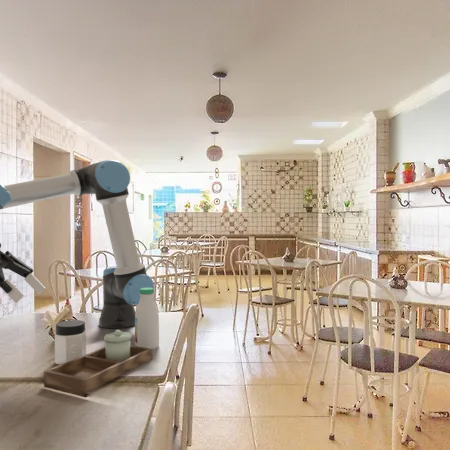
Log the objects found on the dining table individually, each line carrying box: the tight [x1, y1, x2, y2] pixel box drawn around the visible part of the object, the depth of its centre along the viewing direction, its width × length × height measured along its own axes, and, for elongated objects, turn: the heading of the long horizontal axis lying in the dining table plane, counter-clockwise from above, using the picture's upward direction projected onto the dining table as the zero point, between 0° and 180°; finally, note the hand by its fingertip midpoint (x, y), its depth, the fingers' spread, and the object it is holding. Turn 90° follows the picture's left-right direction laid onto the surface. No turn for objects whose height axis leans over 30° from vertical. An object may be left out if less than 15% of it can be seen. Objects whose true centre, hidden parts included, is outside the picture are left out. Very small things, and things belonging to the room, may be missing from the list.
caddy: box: [43, 344, 153, 398], centre depth 117 cm, size 27×14×4 cm, turn 154°
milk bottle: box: [134, 288, 160, 350], centre depth 138 cm, size 8×8×20 cm
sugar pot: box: [103, 329, 132, 362], centre depth 123 cm, size 8×8×10 cm
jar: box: [54, 319, 87, 365], centre depth 125 cm, size 9×8×12 cm
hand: (31, 295), depth 124 cm, fingers open, 13 cm apart
